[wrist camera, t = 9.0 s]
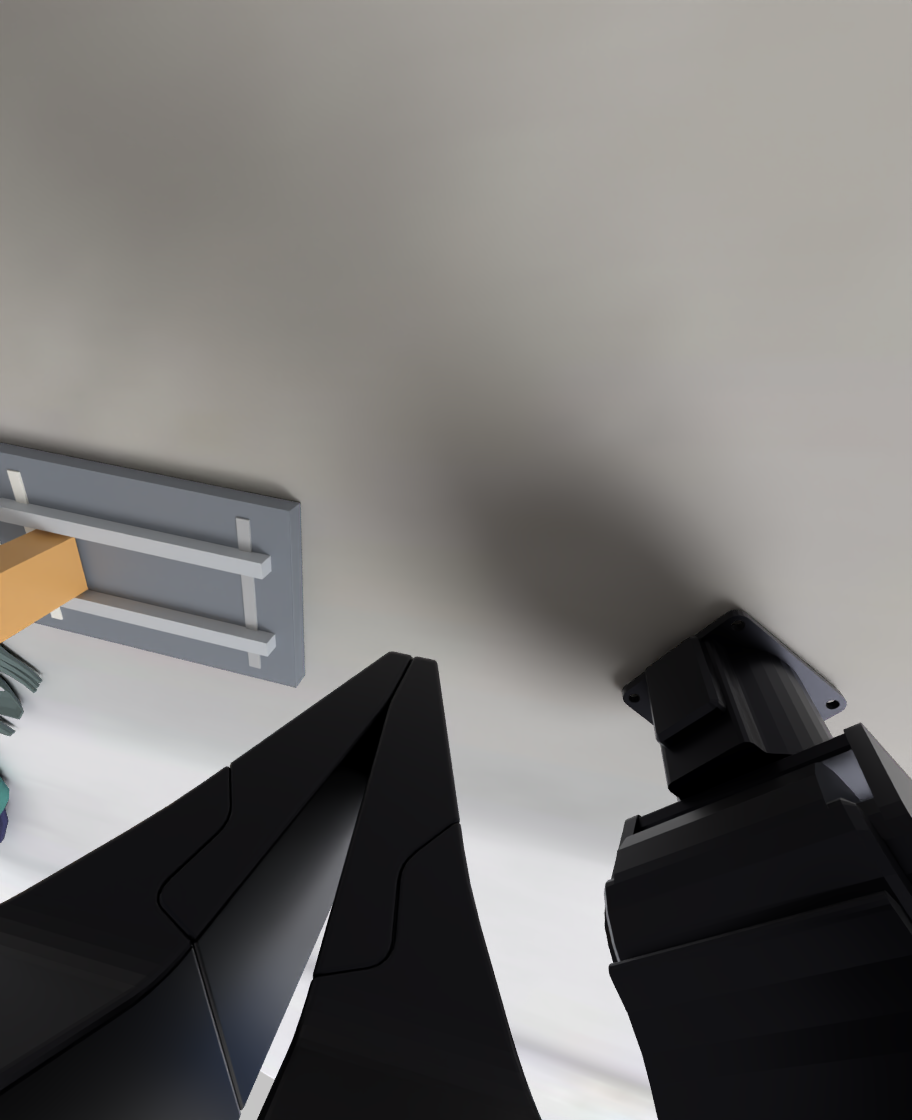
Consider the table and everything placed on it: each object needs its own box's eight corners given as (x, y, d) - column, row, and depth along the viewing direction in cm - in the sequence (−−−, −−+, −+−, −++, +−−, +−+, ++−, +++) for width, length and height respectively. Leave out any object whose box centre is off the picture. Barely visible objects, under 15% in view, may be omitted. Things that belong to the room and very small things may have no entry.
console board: (300, 502, 23) (280, 518, 22) (304, 675, 28) (288, 698, 27) (-11, 440, 25) (-50, 450, 24) (42, 611, 30) (13, 628, 28)
